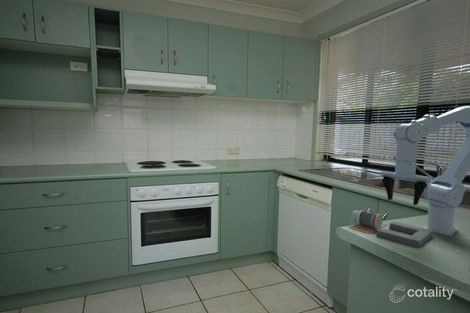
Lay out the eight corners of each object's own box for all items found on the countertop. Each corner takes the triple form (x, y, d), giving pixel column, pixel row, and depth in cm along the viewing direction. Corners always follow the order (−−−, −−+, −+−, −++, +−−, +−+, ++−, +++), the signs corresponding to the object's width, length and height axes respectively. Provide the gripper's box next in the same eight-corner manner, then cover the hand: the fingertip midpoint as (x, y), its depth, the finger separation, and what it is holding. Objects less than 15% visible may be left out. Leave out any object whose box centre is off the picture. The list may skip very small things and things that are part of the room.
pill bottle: (378, 212, 95) (352, 206, 102) (375, 227, 94) (349, 220, 101) (384, 216, 98) (358, 210, 105) (380, 231, 97) (355, 224, 104)
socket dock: (392, 226, 100) (393, 221, 100) (432, 236, 91) (432, 230, 91) (376, 235, 91) (376, 230, 91) (418, 247, 82) (419, 241, 82)
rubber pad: (367, 219, 107) (367, 219, 107) (387, 224, 102) (387, 224, 102) (348, 228, 98) (348, 227, 98) (369, 234, 92) (369, 233, 92)
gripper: (377, 159, 96) (374, 199, 97) (428, 164, 85) (424, 208, 87) (386, 158, 101) (383, 196, 102) (435, 162, 90) (431, 205, 91)
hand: (402, 201), depth 95 cm, fingers open, 7 cm apart
